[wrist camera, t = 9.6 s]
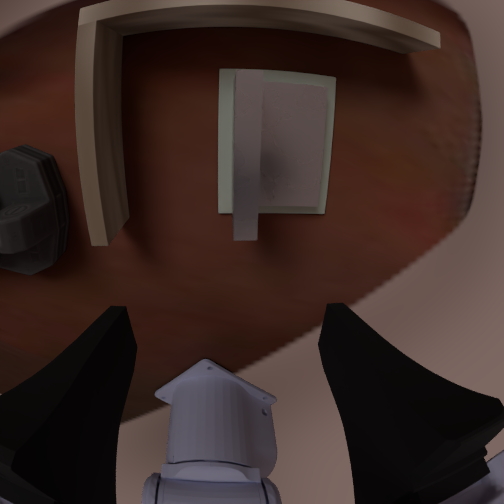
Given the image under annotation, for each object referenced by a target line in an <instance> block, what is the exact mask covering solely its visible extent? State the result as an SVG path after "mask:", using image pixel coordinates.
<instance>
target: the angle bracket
mask: <svg viewBox="0 0 504 504" xmlns="http://www.w3.org/2000/svg"><path fill="white" fill-rule="evenodd" d="M326 105H327V87H323V86H315V85H306V84H296V83H284V82H270V81H263V70H236V73H235V77H234V81H233V112H232V174H231V204H232V222H233V240H257V231H258V206H308V207H318V200H319V191H320V181H321V171H322V160H323V148H324V135H325V121H326Z"/></svg>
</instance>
